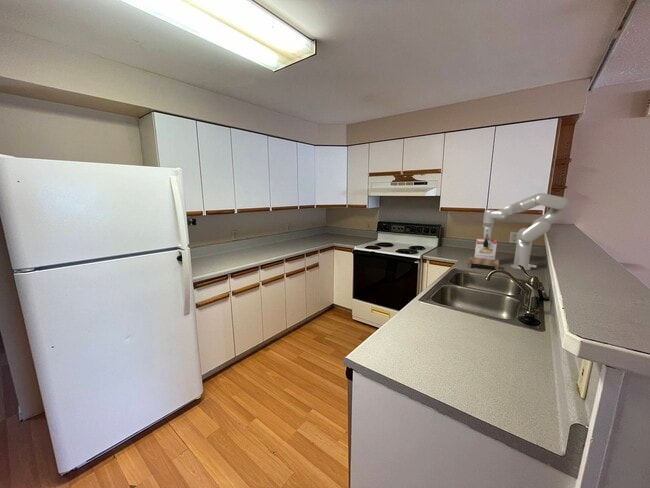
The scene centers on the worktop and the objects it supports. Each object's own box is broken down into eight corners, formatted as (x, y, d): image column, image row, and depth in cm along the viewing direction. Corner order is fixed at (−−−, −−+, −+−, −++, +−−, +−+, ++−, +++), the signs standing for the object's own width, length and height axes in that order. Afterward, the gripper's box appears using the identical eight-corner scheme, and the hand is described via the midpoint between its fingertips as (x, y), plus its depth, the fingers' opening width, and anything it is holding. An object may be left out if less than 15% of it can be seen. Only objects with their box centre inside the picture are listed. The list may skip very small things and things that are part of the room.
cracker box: (474, 264, 220) (477, 239, 216) (473, 262, 225) (476, 238, 222) (494, 265, 215) (497, 240, 211) (492, 264, 221) (495, 239, 217)
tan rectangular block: (497, 267, 210) (498, 260, 209) (497, 271, 198) (498, 264, 197) (469, 263, 221) (470, 256, 220) (467, 267, 209) (468, 260, 208)
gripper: (493, 226, 205) (490, 248, 208) (493, 224, 219) (491, 244, 223) (482, 225, 209) (479, 247, 212) (483, 223, 223) (481, 243, 227)
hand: (485, 245), depth 217 cm, fingers open, 9 cm apart
